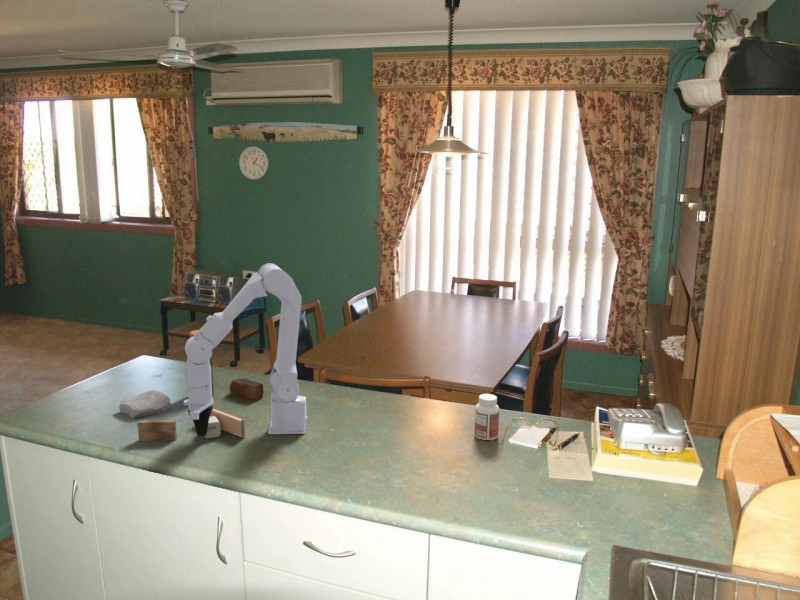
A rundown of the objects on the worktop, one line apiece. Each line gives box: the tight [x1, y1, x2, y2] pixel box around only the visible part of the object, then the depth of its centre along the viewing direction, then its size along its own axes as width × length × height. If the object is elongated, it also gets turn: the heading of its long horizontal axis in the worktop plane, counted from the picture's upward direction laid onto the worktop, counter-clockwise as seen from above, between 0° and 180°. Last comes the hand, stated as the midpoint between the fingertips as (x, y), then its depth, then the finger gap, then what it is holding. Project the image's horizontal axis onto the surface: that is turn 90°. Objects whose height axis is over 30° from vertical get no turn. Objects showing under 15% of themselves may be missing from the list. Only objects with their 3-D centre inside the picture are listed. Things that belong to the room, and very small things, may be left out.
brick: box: [229, 378, 264, 402], centre depth 187 cm, size 11×4×5 cm, turn 57°
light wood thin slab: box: [210, 408, 246, 438], centre depth 164 cm, size 17×1×5 cm, turn 55°
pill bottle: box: [474, 393, 500, 441], centre depth 162 cm, size 6×6×11 cm
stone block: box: [119, 389, 172, 419], centre depth 176 cm, size 12×5×10 cm
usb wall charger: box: [204, 416, 221, 439], centre depth 162 cm, size 4×7×4 cm, turn 27°
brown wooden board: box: [137, 419, 178, 442], centre depth 157 cm, size 9×1×5 cm, turn 95°
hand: (202, 434), depth 157 cm, fingers closed
